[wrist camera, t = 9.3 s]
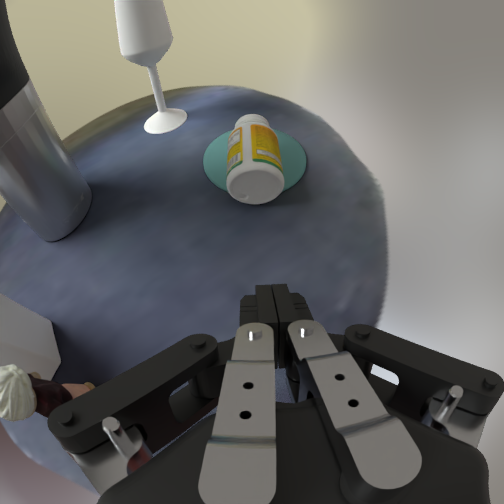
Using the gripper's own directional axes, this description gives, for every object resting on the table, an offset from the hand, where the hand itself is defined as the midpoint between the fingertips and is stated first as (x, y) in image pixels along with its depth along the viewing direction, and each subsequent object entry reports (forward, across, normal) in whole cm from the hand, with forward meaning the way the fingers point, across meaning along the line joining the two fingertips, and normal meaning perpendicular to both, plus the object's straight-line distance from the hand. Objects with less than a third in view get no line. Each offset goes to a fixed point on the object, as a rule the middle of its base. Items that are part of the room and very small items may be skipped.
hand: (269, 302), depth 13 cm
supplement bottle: (+13, 0, -4) cm, 14 cm away
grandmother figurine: (+2, +14, +11) cm, 18 cm away
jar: (+4, +24, +9) cm, 26 cm away
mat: (+21, 0, -8) cm, 22 cm away
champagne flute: (+28, +12, -15) cm, 34 cm away
